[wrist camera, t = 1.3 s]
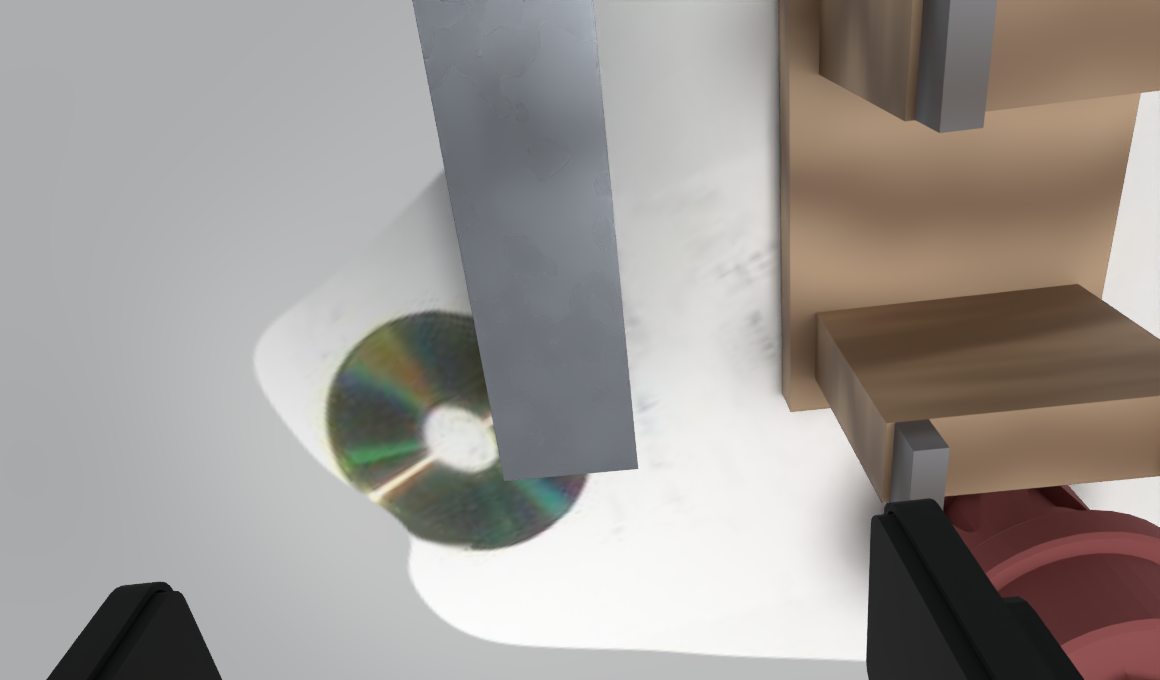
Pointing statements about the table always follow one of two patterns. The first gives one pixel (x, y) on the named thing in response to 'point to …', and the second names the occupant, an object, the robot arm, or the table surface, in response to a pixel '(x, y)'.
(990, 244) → the rack
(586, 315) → the matte grey brick
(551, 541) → the table surface
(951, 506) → the mechanical component
